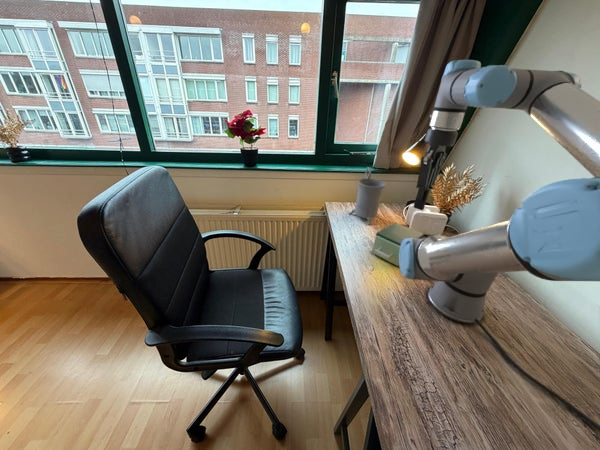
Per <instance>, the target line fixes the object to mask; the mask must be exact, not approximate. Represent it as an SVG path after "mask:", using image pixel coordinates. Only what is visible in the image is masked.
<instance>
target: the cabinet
mask: <svg viewBox="0 0 600 450" xmlns="http://www.w3.org/2000/svg"><path fill="white" fill-rule="evenodd" d="M377 235H378V236H381V237H383V238H385V239H387V240H389V241H392V242H394V243H396V244H398V245H400V246H401V243H402V241H403V240H404V239H406V238H414V239H424V238H423V237H424V235H425V234H422V233H419V232H417V231H415V230H412V229H410V228H409V227H407V226H404V225H402V224H400V223H397V222H393V223H391V224H389V225H387V226H386V227H384V228H383V229H381V230H379V231H377V232H376V233H375V237H376V236H377ZM372 251H373V249H372ZM372 254H373V255H374V256H375V255H376V254H374V253H372ZM376 256H378V255H376ZM378 257H379V256H378ZM395 266H397V265H395ZM397 267H398V268H400V266H397Z"/></svg>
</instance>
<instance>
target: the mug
mask: <svg viewBox="0 0 600 450" xmlns="http://www.w3.org/2000/svg"><path fill="white" fill-rule="evenodd" d="M364 174H365V175H364V178H363V177H362V178H359V179H358V180H357V184H358V185H357V186H358V187H357V188H358V190H357V196H356V200H355V207H354V208H353V209H352V210H351V211H350V212H349V215H352V214H355V215H356V216H357V217H359V218H363V219H367V223H368V225H371V222H372V219H375V218H376V217H377V216H378V211H379V207H380V202H381V198H382V193H383V190H384V189H385V187H386V186H387V185H386V182H384V181H382V180H380V179H376V178H371V175H372V170H371V167H366V169H365V172H364Z"/></svg>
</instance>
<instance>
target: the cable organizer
mask: <svg viewBox="0 0 600 450" xmlns="http://www.w3.org/2000/svg"><path fill="white" fill-rule="evenodd" d="M413 206H414V203H412V204H410V205H408V208H407V212H406V215H405V219H404V222H405V224H406V225H408V228H410V229H412V230H415V231H417V232H419V233H422V234H424V235H426V236H429V237H430V236H434V235H442V234H443V233H444V231H445V228H446V225H447V222H448V220H449V218H448V216H447V215H446V214H445V213H440V211H441V210H440V208H439V207H438V206H436V205H427V204H425V206H424V209H423V210H419V209H416V208H414V207H413Z"/></svg>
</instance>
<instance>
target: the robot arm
mask: <svg viewBox="0 0 600 450" xmlns="http://www.w3.org/2000/svg"><path fill="white" fill-rule="evenodd" d="M468 107H473V108H477V109H478V108H482V109H487V108H491V109H506V110H517V111H518V110H519V111H524V112H525V114H527V115H528V116H529V117H531V118H532V119H533V120H534V122H536V123H537V124H538V125H539V126H540V127H541V128H542V129H543V130H544V131H546V133H547V134H549V135H550V136H551V137H552V138H553V139H554V140H555V141H556V142H557V143H558V144H559V145H560V146H561V147H562V148H563V149H564V150H565V151H566V152H567V153H569V154H570V156H572V157H573V158H574V159H575V160H576V161H577V162H578V163H579V164H580V166H582V167H583V168H584V169H585V170H586V171H587V172H588V173H589V174H590V175H592V177H590V178H589V177H581V178H570V179H563V180H559V181H555V182H551V183H548V184H546V185H544V186H541V187H539V188H538V189H536V190H534V191H532V192H531V193H529V195H527V196H526V197H525V198H523V199H522V201H521V202H522V203H521V204H522V206H520V207H516V209H515V210H514V212H513V214H512V215H511V217H510V218H509V220H506V221H502V222H498V223H495V224H491V225H488V226H484V227H481V228H477V229H473V230H470V231H466V232H463V233H459V234H455V235H452V236H446V235H442V234H441V235H434V236H430V235H429V236H427V237H424V238H422V239H414V238H406V239H404V240H403V241H402V243H401V246H400V250H399V266H400V267H399V270H400V274H401V275H402V277H403V278H405V279H407V280H412V281H415V280H418V281H431V282H435V283H434V284H433V285H431V286H430V288H429V290H428V291H427V300H428V302H429V303H430V306H432V307H433V308H434V310H435V311H437V312H438V313H439V314H440V315H442V316H443V317H445V318H447V319H449V320H452V321H454V322H456V323H460V324H465V325H472V324H474V325H475V324H477V325H478V326H479V328H480V329H481V330H482V331H483V332H484V333H485V334H486V336H487V337H488V338H489V339H490V341H491V342H492V343H493V344H494V345H495V346H496V348H497V349H498V350H499V351H500V352H501V354H502V355H503V356H504V357H505V359H506V360H507V361H508V362H509V363H510V364H511V365H512V366H513V367H514V368H515V369H517V370H518V371H519V372H520V373H521V374H522V375H523V376H525V377H526V378H527V379H528V380H530V381H531V382H533V383H534V384H535V385H537V386H538V387H540V388H541V389H542V390H544V391H546V392H547V393H549V394H550V395H551V396H553V397H555V398H556V399H557V400H558V401H560V402H561V403H563V404H564V405H565V406H567V407H568V408H569V409H570V410H572V411H573V412H575V414H577V415H578V416H580V417H581V418H582V419H584V420H585V421H586V422H587V423H589V424H590V425H591V426H593V427H594V428H595V429H597V430H598V431H599V432H600V425H599V424H598V423H597V422H595V421H594V420H592V419H591V418H590V417H588V416H587V415H586V414H585V413H584V412H582V411H581V410H579V409H578V408H576V407H575V406H574V405H573V404H572V403H570V402H569V401H567V400H566V399H565V398H563V397H561V395H559V394H558V393H556V392H555V391H553V390H552V389H550V388H549V387H548V386H546V385H544V384H543V383H542V382H540V381H538V380H537V379H536V378H535V377H533V376H532V375H530V374H529V373H527V372H526V371H525V370H524V369H523V368H521V366H519V365H518V364H517V362H515V361H514V360H513V359H512V358H511V357H510V356H509V354H508V353H507V352H506V351H505V350H504V349H503V347H502V346H501V345H500V344H499V343H498V341H497V340H496V339H495V338H494V337H493V335H492V334H491V333H490V332H489V331H488V330H487V329H486V327H485V326H484V325H483V324H482V323H481V322H480V321H481V320H482V318H483V316H484V314H485V303H486V295H487V293H488V292H489V290H490V288H491V286H492V284H493V283H494V281H495V279H496V278H497V276H498V274H499V273H512V272H513V273H515V272H528V273H529V274H531V275H532V276H534V277H536V278H539V279H541V280H544V281H550V282H600V100H599V99H598V98H596V97H595V96H593V95H591V94H590V93H588V92H587V91H585V90H584V89H582V83H581V77H580V76H579V75H578V74H576V73H574V72H567V71H564V70H545V69H544V70H543V69H528V68H527V69H525V68H512V67H510V66H508V65H505V64H499V65H498V64H489V65H487V66H482V63H481V61H479V60H475V59H458V60H457V59H455V60H452V61H450V62H448V63H447V64H446V66H445V69H444V71H443V74H442V77H441V80H440V84H439V89H438V92H437V95H436V100H435V103H434V107H433V110H432V113H431V114H430V115H429V118H430V121H429V123H428V124H429V125H428V126H429V127H430V128H428V129H427V131H426V134H425V138H424V143H426V144H428V145H429V146H428V147H427V150H426V152H425V155H424V156H421V157H420V166H419V172H418V178H417V182H416V186H415V188H416V189H418V190H417V194H416V197H415V200H414V203H413V204H414V206H413V207H414V208H416V209H419V210H423V209H424V206H425V205H426V203H427V200H428V197H429V194H430V191H431V190H434V189H435V187H434V186H435V183H436V181H437V179H438V176H439V174H440V171H441V169H442V166H443V164H444V161H445V159H446V158H447V156H448V154H447V153H446V149H447V147H453V146H454V145H455V144H456V141H457V138H458V135H459V132H458V130H460V129H461V126H462V123H463V120H464V117H465V114H466V111H467V109H468Z"/></svg>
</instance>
